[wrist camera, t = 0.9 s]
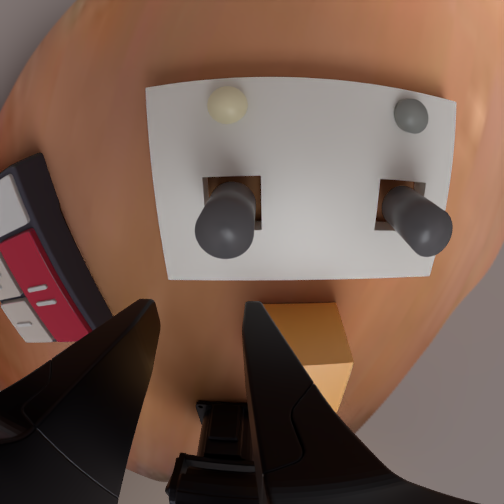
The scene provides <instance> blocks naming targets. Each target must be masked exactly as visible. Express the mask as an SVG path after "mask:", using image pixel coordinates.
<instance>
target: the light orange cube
mask: <svg viewBox="0 0 504 504" xmlns="http://www.w3.org/2000/svg"><path fill="white" fill-rule="evenodd" d="M263 306H264V307H265V309H266V310H267V312H268V313H269V315H270V316H271V318H272V320H273V321H274V323H275V324H276V326H277V327H278V329H279V330H280V332H281V333H282V335H283V336H284V338H285V339H286V341H287V343H288V344H289V346H290V347H291V349H292V350H293V352H294V353H295V355H296V356H297V358H298V359H299V361H300V362H301V364H302V365H303V367H304V368H305V370H306V371H307V373H308V374H309V376H310V377H311V379H312V380H313V382H314V384H315V385H316V386H317V388H318V389H319V390H320V392H321V393H322V395H323V396H324V398H325V399H326V400H327V402H328V403H329V405H330V406H331V407H332V409H333V410H334V411H335V412H336V414H337V411H338V408H339V405H340V403H341V400H342V397H343V394H344V391H345V388H346V385H347V382H348V379H349V376H350V373H351V370H352V367H353V363H354V361H353V358H352V354H351V351H350V347H349V344H348V341H347V337H346V334H345V331H344V327H343V324H342V321H341V318H340V314H339V311H338V308H337V305H336V302H335V303H299V304H263Z"/></svg>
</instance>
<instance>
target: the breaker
mask: <svg viewBox="0 0 504 504" xmlns="http://www.w3.org/2000/svg"><path fill="white" fill-rule="evenodd" d="M382 214H383V216H384V218H385V220H386V221H387V222H388V223H389V224H390V225H391V226H392V227H393V229H394V230H395V231H396V232H397V233H398V234H399V235H400V236H401V237H402V238H403V239H404V240H405V241H406V243H407V244H408V245H409V246H410V247H411V248H412V249H413V250H414V251H415V253H417V254H418V255H420V256H422V257H431V256H434V255H436V254H438V253H439V252H441V251H442V250H443V249H444V248H445V247H446V245H447V244H448V242H449V240H450V238H451V235H452V221H451V218H450V216H449V215H448V213H447V212H445V211H444V210H443V209H441V208H440V207H438V206H437V205H436V204H434V203H433V202H431V201H430V200H428V199H427V198H425V197H424V196H422V195H421V194H419V193H418V192H416V191H415V190H413V189H412V188H410V187H408V186H397V187H394V188H393V189H391V190H390V191H389V192H388V193H387V194H386V196H385V198H384V200H383V203H382Z"/></svg>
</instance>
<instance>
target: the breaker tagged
mask: <svg viewBox="0 0 504 504" xmlns="http://www.w3.org/2000/svg"><path fill="white" fill-rule="evenodd" d="M255 211H256V200H255V197H254V194H253V192H252V191H251V190H250V189H249V188H248V187H247V186H245V185H244V184H242V183H239V182H225V183H223V184H221V185H219V186H218V187H217V188H215V190H214V191H213V192H212V194H211V196H210V198H209V199H208V201H207V203H206V205H205V206H204V208H203V210H202V212H201V213H200V215H199V217H198V219H197V221H196V224H195V237H196V240H197V242H198V244H199V245H200V247H201V248H202V249H203V250H204V251H205V252H206V253H208V254H209V255H211V256H213V257H216V258H220V259H231V258H235V257H238V256H240V255H242V254H243V253H245V252H246V251H247V250H248V249H249V247H250V246H251V244H252V241H253V237H254V226H255Z"/></svg>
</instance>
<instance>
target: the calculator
mask: <svg viewBox="0 0 504 504" xmlns="http://www.w3.org/2000/svg"><path fill="white" fill-rule="evenodd" d="M0 301H1V303H2V304H1V308H2V309H3V311H4V312H5V314H6V315H7V317H8V318H9V320H10V321H11V323H12V324H13V325H14V327H15V328H16V330H17V331H18V332H19V334H20V335H21V336H22V338H23V339H24V340H25V341H26V342H56V341H58V342H72V341H78V340H80V339H81V338H83V337H84V336H85V335H87V334H88V333H90V332H91V331H93V330H94V329H96V328H97V327H99V326H100V325H102V324H103V323H105V322H106V321H108V320H109V319H111V318H112V317H113V316H112V314H111V312H110V310H109V308H108V306H107V305H106V303H105V301H104V299H103V297H102V295H101V294H100V292H99V290H98V288H97V286H96V284H95V282H94V280H93V278H92V276H91V274H90V272H89V270H88V268H87V266H86V264H85V262H84V260H83V258H82V256H81V254H80V252H79V250H78V248H77V246H76V244H75V242H74V240H73V238H72V236H71V234H70V232H69V229H68V227H67V225H66V223H65V221H64V218H63V216H62V214H61V211H60V209H59V200H58V198H57V195H56V192H55V189H54V187H53V184H52V181H51V178H50V175H49V172H48V169H47V165H46V162H45V159H44V156H43V154H42V153H37V154H35V155H32V156H30V157H28V158H25V159H23V160H21V161H19V162H17V163H15V164H13V165H11V166H9V167H8V168H7V169H5V170H4V171H2V172H1V173H0Z"/></svg>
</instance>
